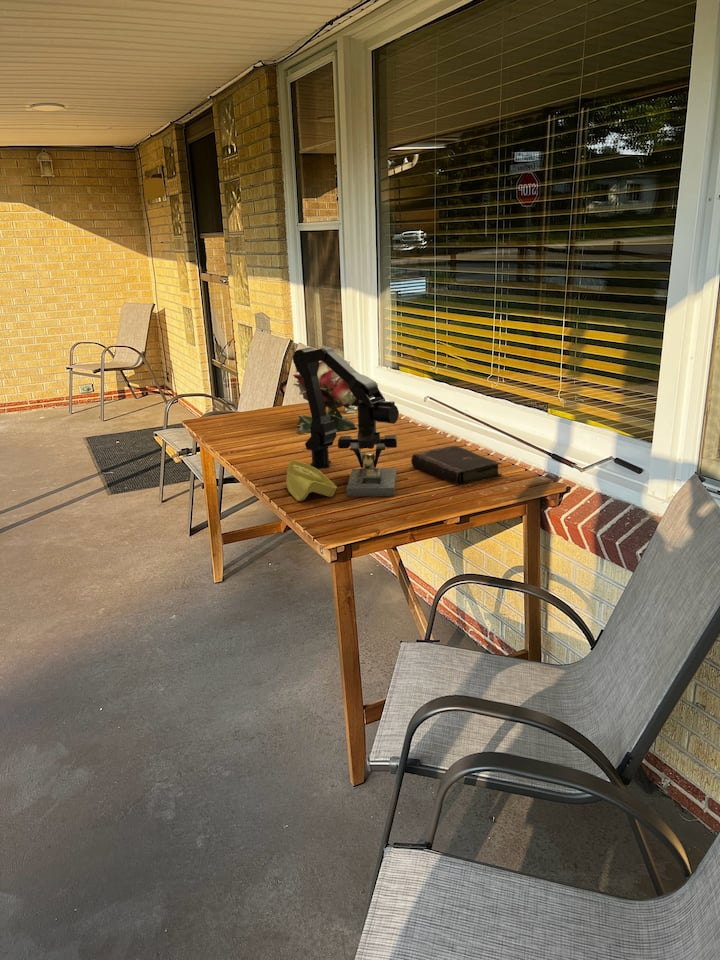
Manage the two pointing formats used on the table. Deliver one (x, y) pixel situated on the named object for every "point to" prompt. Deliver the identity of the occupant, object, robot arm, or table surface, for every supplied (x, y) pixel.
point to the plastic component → (307, 481)
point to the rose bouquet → (328, 399)
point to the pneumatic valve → (350, 409)
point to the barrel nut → (368, 460)
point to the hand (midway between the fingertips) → (368, 467)
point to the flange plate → (372, 482)
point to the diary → (456, 465)
